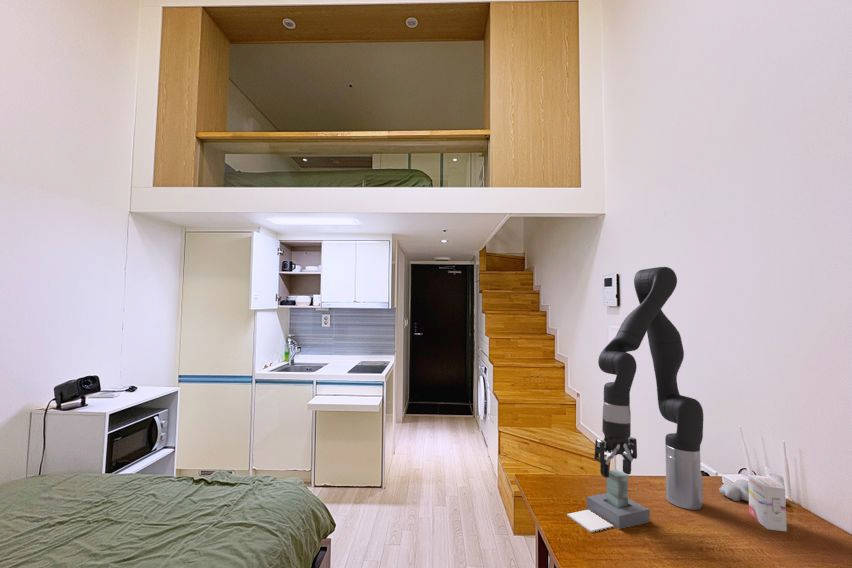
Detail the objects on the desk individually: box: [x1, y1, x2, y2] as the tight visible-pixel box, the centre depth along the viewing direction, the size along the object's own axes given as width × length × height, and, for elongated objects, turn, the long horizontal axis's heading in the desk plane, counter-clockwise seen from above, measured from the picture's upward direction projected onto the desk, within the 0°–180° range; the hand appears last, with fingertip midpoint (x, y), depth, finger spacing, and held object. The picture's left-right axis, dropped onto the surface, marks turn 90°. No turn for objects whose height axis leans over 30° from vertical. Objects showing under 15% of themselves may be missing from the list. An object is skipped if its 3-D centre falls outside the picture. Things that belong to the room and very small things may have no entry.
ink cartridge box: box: [747, 465, 788, 532], centre depth 110 cm, size 9×5×15 cm, turn 168°
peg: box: [605, 469, 629, 509], centre depth 112 cm, size 4×4×12 cm
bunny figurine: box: [718, 479, 749, 502], centre depth 125 cm, size 10×5×15 cm
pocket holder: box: [586, 492, 650, 530], centre depth 111 cm, size 12×12×4 cm
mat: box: [566, 509, 614, 534], centre depth 107 cm, size 8×9×1 cm
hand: (615, 475), depth 112 cm, fingers open, 8 cm apart
